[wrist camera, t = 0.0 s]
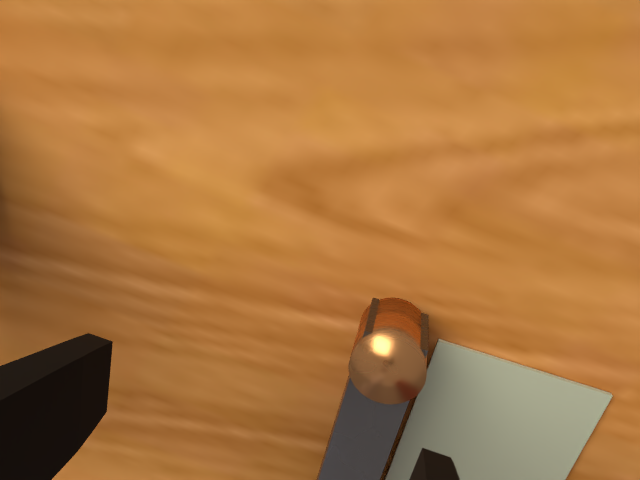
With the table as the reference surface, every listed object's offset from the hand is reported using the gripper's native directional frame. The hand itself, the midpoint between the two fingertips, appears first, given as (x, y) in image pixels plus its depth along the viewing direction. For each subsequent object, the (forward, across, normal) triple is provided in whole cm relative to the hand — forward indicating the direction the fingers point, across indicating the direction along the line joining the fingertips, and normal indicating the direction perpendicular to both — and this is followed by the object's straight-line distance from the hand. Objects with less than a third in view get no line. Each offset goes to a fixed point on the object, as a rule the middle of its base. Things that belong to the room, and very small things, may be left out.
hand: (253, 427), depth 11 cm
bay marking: (+10, -8, +7) cm, 15 cm away
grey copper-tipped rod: (+9, -3, +9) cm, 13 cm away
